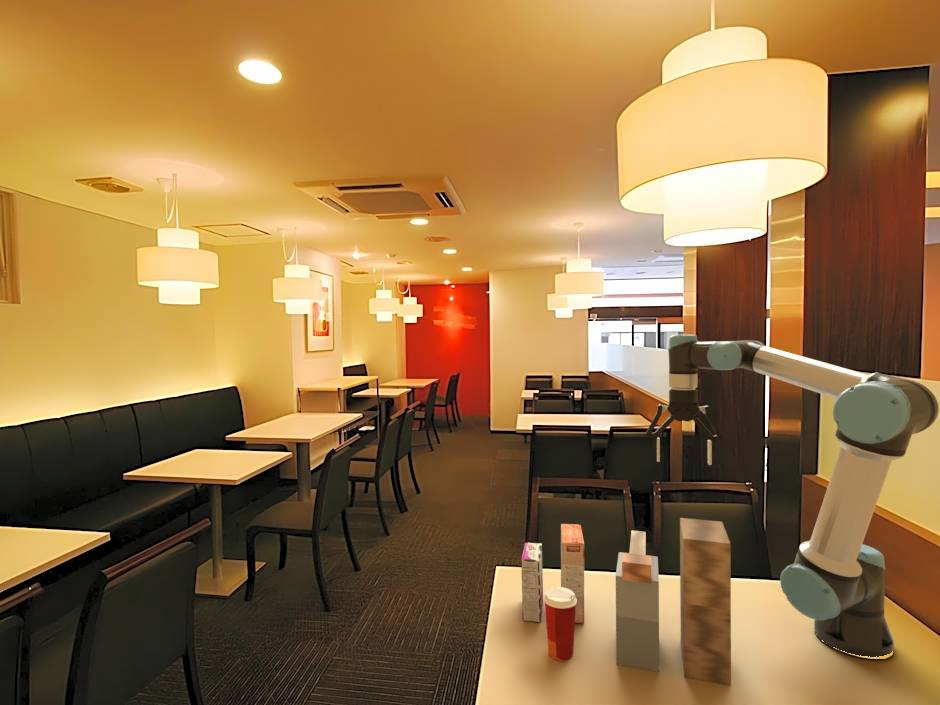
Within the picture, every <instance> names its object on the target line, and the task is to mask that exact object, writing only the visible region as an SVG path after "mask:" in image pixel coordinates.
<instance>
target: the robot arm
mask: <svg viewBox="0 0 940 705" xmlns="http://www.w3.org/2000/svg"><path fill="white" fill-rule="evenodd" d="M667 349H668V350H667V351H668V368H669V369H668V387H669V388H670V389H669V390H668V402H669V403H668V405H662V404H661V403H659V404H658V405H657V409H656V413H655V415H654V416H653V419H652V421H651V422H650V424H649V426H648V428H647V430H646V432H645V435H646V437H650V438H651V439H652V449H653V450H655V451H656V462H657V463H660V462H661V461H660V458H661V454H660V453H661V452H660V451H661V450H660V449H661V445H660V444H661V442H660V441H661V440H660V437H659V436H660V435H661V434H662V433H663V432H664V431H665V430H666V429H667V428H668V427H669V426H670V425H671V424H672V423H673V422H674V421H676V422H691V421H693V422H694V423H695V424H696V425H697V426H698V428H700V430H702V431H703V433H704V434H705V435H706V436H707V437H708V438H709V439H707V465H708V466H712V465H713V463H712V460H713V458H712V457H713V456H712V454H714V453H716V452H717V442H718V441H719V440H723V439H724V436H723V433H722V432H721V430H720V429H719V427H718V425H717V424H716V421H715V420H714V418H713V416H712V414H711V407H710V406H709V405H703V406H699V405H698V402H699V401H698V394H699V393H698V390H697V388H698V386H699V385H698V370H699V369H700V370H701V369H702V370H715V371H717V370H718V371H732V370H735V369H745V370H748V371H751V372H755V373H758V374H760V375H764V376H765V377H766V376H767V377H769V378H773V379H776V380H777V381H778V380H779V381H782V382H784V383H787V384H790V385H794V386H798V387H801V388H802V389H806V390H809V391H811V392H814V393H818V394H821V395H824V396H827V397H829V398H832V399H835V402H834V405H833V409H832V416H833V420H834V422H835V423H836V427H837V429H836V430H835V434H834V435H835V436H834V437H835V439H836V440H837V441H838V443H839V444H840V448H839V451H838V454H837V457H836V460H835V463H834V466H833V470H832V472H831V475H830V479H829V481H828V485H827V488H826V491H825V494H824V497H823V501H822V503H821V506H820V510H819V512H818V516H817V518H816V522H815V525H814V527H813V531H812V534H811V537H810V540H806V541H802V542H801V543H800V544H799V547H798V550H797V553H796V556H795V559H794V562H793V563H792V564H789V565H786V567H785V568H784V569H783V570H782V571H781V574H780V577H779V582H780V583H779V584H780V588H781V589H782V592H783V594H784V595H785V596H786V600H787V601H788V603H789V604H790V605H791V606H792V607H793V608H794V609H795V610H796V611H797V612H799V613H801V614H802V615H804V616H805V617H806V618H807V617H808V618H809V619H813V620H814V621H813V623H814V624H813V625H814V626H813V627H814V628H813V630H815V632H814V634H815V633H816V634H817V636H818V637H819V638H820V639H821V640H823V641H824V642H825V643H827V644H828V645H830V646H832V647H835V648H837V649H839V650H842V651H845V652H847V653H851V654H855V655H859V656H860V655H861V656H868V657H869V656H870V657H876V656H877V657H879V656H884V655H887V654H890V653H891V652H892V651H893V649H894V650H895V643H894V639H893V635H892V633H891V630H890V628H889V625H888V622H887V619H886V617H885V600H886V599H885V594H886V593H885V592H886V590H885V588H886V587H885V586H886V584H885V583H886V568H887V567H886V566H885V556H884V555H883V553H882V552H881V551H880V550H878V549H876V548H874V547H873V546H870V545H866V544H864V540H865V537H866V535H867V531H868V529H869V526H870V523H871V520H872V518H873V515H874V512H875V509H876V507H877V503H878V501H879V498H880V495H881V492H882V490H883V487H884V483H885V481H886V479H887V476H888V473H889V470H890V467H891V465H892V462H893V461H896V460H898V459H901V458H903V457H905V454H906V452H907V450H908V446H909V443H910V442H911V438H912V436H913V435H915V434H918V433H921V432H924V431H925V430H927V429H929V428H930V427H931V426H932V425H933V424H934V423H935V421H936V419H937V418H938V414H939V412H940V411H939V408H940V406H939V402H938V399H937V397H936V396H935V395H934V392H932V390H930V389H929V388H928V387H927V386H926V385H924V384H922V383H920V382H918V381H915V380H912V379H906V378H901V377H897V376H894V375H889V374H884V373H881V372H877V371H875V372H874V373H871V374H867V373H863V372H861V371H856V370H853V369H849V368H845V367H842V366H838V365H836V364H831V363H829V362H824V361H821V360H817V359H814V358H810V357H806V356H803V355H800V354H795V353H792V352H788V351H786V350H781V349H777V348H773V347H770V346H768V345H765V344H764V343H762V342H761V341H759V340H753V339H752V340H751V339H744V340H719V341H718V340H717V341H715V340H714V341H699V340H698V336H697V335H696V334H672V335H671V336H669V339H668V348H667ZM665 411H668V412H669V416H668V417H667V418H666V420H665V421H664V422H662V423H661V425H660V426H658V428H657V429H656V430H655V432H653V431H654V429H655V428H656V425H657V423H659V422H658V421H659V419H660V418H661V416H662V414H664V413H665ZM700 412H701V413H702V414H703V415H705V416H706V419H707V420H708V422H709V424H710V426H711V428H712V429H713V431H714V432H715V435H714V434H713V433H712V432H711V431H710V430H709V429H708V428H707V427H706V426H705V425H704V423H703V422H702V421H701V420H700V419H699V417H698V416H697V415H698V414H699V413H700ZM816 634H815V635H816ZM817 636H816V637H817ZM818 637H817V638H818ZM819 638H818V639H819ZM820 639H819V640H820ZM821 640H820V641H821ZM824 642H823V643H824ZM825 643H824V644H825ZM828 645H827V646H828ZM830 646H829V647H830Z"/></svg>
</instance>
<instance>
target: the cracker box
mask: <svg viewBox="0 0 940 705" xmlns="http://www.w3.org/2000/svg"><path fill="white" fill-rule="evenodd" d="M560 587H563V588H567V589H570V590H571V591H573V592H574V594H575V597H576V599H577V603H576V607H575V624H584V623H585V541H584V536H583V529H582V526H581V524H577V523H576V524H573V523H572V524H571V523H570V524H569V523H560Z"/></svg>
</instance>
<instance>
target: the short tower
mask: <svg viewBox="0 0 940 705" xmlns="http://www.w3.org/2000/svg"><path fill="white" fill-rule="evenodd" d="M623 553H624V552H623V551H622V552H621V551H620V552H618V555H617V563H616V571H615V644H616V645H615V646H616V647H615V648H616V649H615V650H616V651H615V652H616V657H615V658H616V665H620V666H625V667H631V668H635V669H641V670H647V671H651V672H657V673H659V672H660V588H659V587H660V584H659V583H660V578H659V577H660V576H659V557H658V556H655V555H650V556H651V584H649V583H642V582H635V581H627V580H622V559H623Z"/></svg>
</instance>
